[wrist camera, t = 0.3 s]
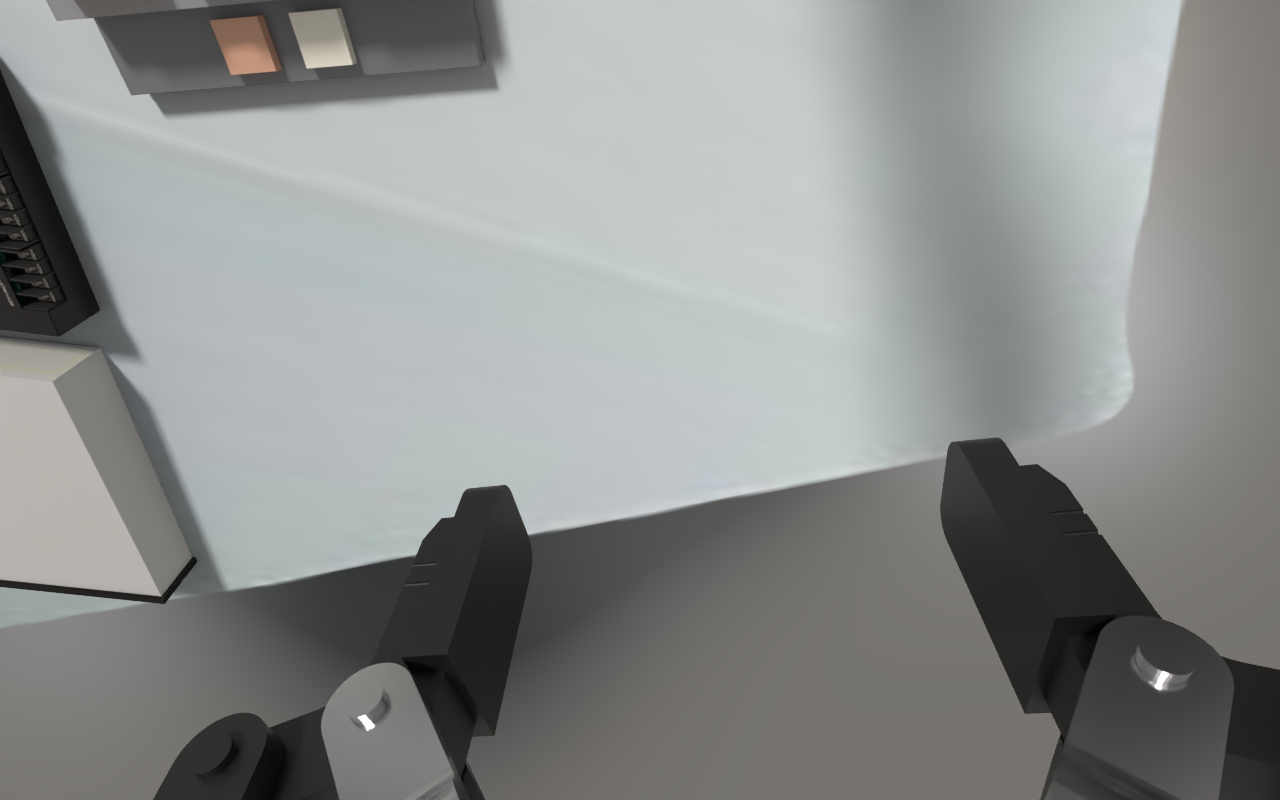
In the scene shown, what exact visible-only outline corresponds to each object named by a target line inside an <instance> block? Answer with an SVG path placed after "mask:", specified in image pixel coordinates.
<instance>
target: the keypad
mask: <svg viewBox="0 0 1280 800" xmlns="http://www.w3.org/2000/svg"><path fill="white" fill-rule="evenodd" d="M46 1H47V3H48V5H49V7H50V9H51V11H52V13H53V15H54V17H55V18H56V20H57V21H62V20H73V19H84V18H94V20H95V22H96V24H97V26H98V28H99V30H100V32H101V34H102V36H103V38H104V40H105V42H106V44H107V46H108V48H109V50H110V52H111V54H112V57H113V59H114V61H115V63H116V65H117V67H118V69H119V71H120V73H121V75H122V77H123V79H124V81H125V83H126V85H127V87H128V89H129V91H130V93H131V95H140V94H152V93H164V92H176V91H188V90H200V89H212V88H224V87H235V86H247V85H259V84H271V83H283V82H295V81H307V80H319V79H331V78H343V77H355V76H367V75H378V74H390V73H402V72H414V71H426V70H438V69H450V68H462V67H474V66H481V65H482V64H484V63H485V57H484V52H483V47H482V42H481V37H480V32H479V26H478V21H477V16H476V11H475V6H474V1H473V0H46Z"/></svg>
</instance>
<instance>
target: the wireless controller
mask: <svg viewBox="0 0 1280 800" xmlns="http://www.w3.org/2000/svg"><path fill="white" fill-rule="evenodd" d="M98 311H100V309H99V306H98V304H97V301H96V299H95V297H94V294H93V292H92V289H91V287H90V285H89V282H88V280H87V277H86V275H85V273H84V270H83V268H82V265H81V263H80V261H79V258H78V256H77V253H76V251H75V249H74V246H73V244H72V241H71V239H70V237H69V234H68V232H67V229H66V227H65V225H64V222H63V220H62V217H61V215H60V213H59V210H58V208H57V205H56V203H55V201H54V198H53V196H52V193H51V191H50V189H49V186H48V184H47V181H46V179H45V177H44V174H43V172H42V169H41V167H40V165H39V162H38V160H37V157H36V155H35V153H34V150H33V148H32V145H31V143H30V141H29V138H28V136H27V133H26V131H25V129H24V126H23V124H22V121H21V119H20V117H19V114H18V112H17V109H16V107H15V105H14V102H13V100H12V97H11V95H10V93H9V90H8V88H7V85H6V83H5V81H4V78H3V76H2V73H1V71H0V329H1V330H9V331H18V332H26V333H35V334H43V335H52V336H61V335H63V334H64V333H66V332H67V331H69V330H70V329H72V328H73V327H75V326H76V325H78V324H80V323H81V322H83V321H84V320H86V319H87V318H89V317H90V316H92V315H94V314H95V313H97V312H98Z"/></svg>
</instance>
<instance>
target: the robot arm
mask: <svg viewBox="0 0 1280 800" xmlns="http://www.w3.org/2000/svg"><path fill="white" fill-rule="evenodd" d="M940 508H941V509H940V511H941V521H942V526H943V530H944V534H945V537H946V539H947V542H948V544H949V546H950V548H951V551H952V553H953V555H954V557H955V559H956V562H957V564H958V566H959V568H960V571H961V573H962V575H963V577H964V579H965V582H966V584H967V586H968V588H969V591H970V593H971V595H972V597H973V599H974V602H975V604H976V606H977V608H978V611H979V613H980V615H981V617H982V619H983V622H984V624H985V626H986V628H987V631H988V633H989V635H990V637H991V639H992V642H993V644H994V646H995V648H996V650H997V653H998V655H999V657H1000V659H1001V661H1002V664H1003V666H1004V668H1005V670H1006V672H1007V675H1008V677H1009V679H1010V682H1011V684H1012V686H1013V688H1014V690H1015V693H1016V695H1017V697H1018V699H1019V701H1020V704H1021V706H1022V708H1023V710H1024V713H1025V714H1029V713H1052V715H1053V717H1054V719H1055V722H1056V724H1057V726H1058V728H1059V730H1060V732H1061V734H1060V737H1059V739H1058V742H1057V745H1056V748H1055V751H1054V755H1053V758H1052V761H1051V764H1050V767H1049V770H1048V773H1047V776H1046V780H1045V783H1044V786H1043V789H1042V792H1041V796H1040V799H1039V800H1280V670H1278V669H1272V668H1268V667H1263V666H1257V665H1252V664H1248V663H1243V662H1239V661H1235V660H1231V659H1228V658H1225V657H1222V656H1220V655H1219V654H1218V652H1217V651H1216V650H1215V649H1214V648H1213V647H1212V646H1211V645H1209V644H1208V643H1207V642H1206V641H1205V640H1203V639H1202V638H1200V637H1199V636H1197V635H1196V634H1194V633H1193V632H1191V631H1189V630H1187V629H1185V628H1184V627H1181V626H1179V625H1177V624H1174V623H1172V622H1169V621H1166V620H1163V619H1162V618H1161V617H1160V615H1159V614H1158V613H1157V612H1156V611H1155V609H1154V608H1153V606H1152V605H1151V603H1150V602H1149V601H1148V599H1147V598H1146V597H1145V595H1144V594H1143V592H1142V591H1141V589H1140V588H1139V587H1138V585H1137V584H1136V583H1135V581H1134V580H1133V578H1132V577H1131V575H1130V574H1129V573H1128V571H1127V570H1126V569H1125V567H1124V566H1123V564H1122V563H1121V561H1120V560H1119V559H1118V557H1117V556H1116V554H1115V553H1114V552H1113V550H1112V549H1111V547H1110V546H1109V545H1108V543H1107V542H1106V540H1105V539H1104V538H1103V536H1102V535H1099V534H1098V529H1097V528H1096V526H1095V525H1094V524H1093V522H1092V521H1091V519H1090V518H1089V516H1088V515H1087V514H1084V513H1083V508H1082V507H1081V505H1080V504H1079V502H1078V501H1077V500H1076V498H1075V497H1074V496H1073V494H1072V493H1071V491H1070V490H1069V489H1068V487H1067V486H1066V484H1064V483H1063V482H1061V481H1060V480H1058V479H1057V478H1056V477H1054V476H1053V475H1052V474H1050V473H1049V472H1047V471H1046V470H1045V469H1043V468H1042V467H1040V466H1039V465H1038V464H1035V465H1024V466H1019V465H1018V463H1017V461H1016V460H1015V458H1014V457H1013V455H1012V454H1011V452H1010V451H1009V449H1008V447H1007V446H1006V444H1005V443H1004V442H1003V441H1002V440H1001V439H1000V438H987V439H977V440H967V441H957V442H952V443H950V445H949V448H948V452H947V459H946V467H945V475H944V482H943V489H942V497H941V506H940ZM413 566H414V567H413V568H411V570H410V572H409V575H408V577H407V579H406V582H405V588H403V589H402V591H401V594H400V596H399V599H398V601H397V604H396V606H395V608H394V611H393V613H392V615H391V618H390V620H389V623H388V625H387V627H386V630H385V633H384V635H383V637H382V640H381V642H380V644H379V647H378V649H377V652H376V654H375V656H374V659H373V661H372V663H371V665H370V666H369V667H366V668H364V669H362V670H360V671H359V672H357V673H355V674H354V675H352V676H351V677H350V678H348V679H347V680H346V681H345V682H344V683H343V684H342V685H341V686H340V687H339V688H338V689H337V690H336V691H335V693H334V694H333V695H332V697H331V698H330V700H329V702H328V704H327V705H326V706H325V707H323V708H321V709H318V710H316V711H313V712H311V713H308V714H305V715H303V716H300V717H297V718H294V719H292V720H289V721H286V722H284V723H281V724H278V725H276V726H273V727H270V728H269V727H268V726H267V724H266V723H265V722H264V721H263V720H262V719H261V718H259V716H256V715H254V714H250V713H238V714H233V715H230V716H227V717H224V718H222V719H220V720H218V721H216V722H214V723H213V724H211V725H210V726H208V727H206V728H205V729H204V730H202V731H201V732H200V733H199V734H197V735H196V736H195V737H194V738H193V739H192V740H191V741H190V742H189V743H188V744H187V745H186V746H185V748H184V749H183V750H182V751H181V753H180V754H179V755H178V757H177V758H176V760H175V761H174V763H173V765H172V766H171V768H170V770H169V772H168V774H167V776H166V777H165V779H164V781H163V783H162V785H161V786H160V788H159V790H158V792H157V794H156V795H155V797H154V799H153V800H485V798H484V795H483V793H482V791H481V789H480V787H479V785H478V782H477V780H476V778H475V776H474V774H473V772H472V769H471V767H470V765H469V763H468V762H467V760H466V758H467V754H468V750H469V746H470V742H471V738H472V737H474V736H494V735H495V730H496V725H497V721H498V717H499V712H500V708H501V703H502V699H503V694H504V690H505V686H506V681H507V677H508V672H509V668H510V663H511V659H512V654H513V650H514V646H515V641H516V636H517V632H518V628H519V623H520V619H521V614H522V610H523V605H524V601H525V596H526V592H527V588H528V583H529V579H530V574H531V568H532V550H531V543H530V540H529V537H528V534H527V531H526V529H525V526H524V524H523V521H522V519H521V516H520V513H519V511H518V508H517V506H516V503H515V501H514V498H513V495H512V493H511V491H510V489H509V488H508V486H506V485H500V486H490V487H480V488H469V489H467V490H465V492H464V493H463V495H462V497H461V500H460V503H459V505H458V508H457V511H456V513H455V516H454V517H451V518H442V519H441V520H440V521H439V522H438V523H437V524H436V525H435V527H434V528H433V529H432V530H431V531H430V532H429V533H428V535H427V536H426V537H425V538H424V539H423V541H422V543H421V546H420V548H419V550H418V553H417V555H416V558H415V560H414V563H413Z"/></svg>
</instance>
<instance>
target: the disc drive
mask: <svg viewBox="0 0 1280 800" xmlns="http://www.w3.org/2000/svg"><path fill="white" fill-rule="evenodd" d="M196 563H197V560H196V558H195V557H192V554H191V552H190V550H189V547H188V545H187V543H186V541H185V538H184V536H183V534H182V531H181V529H180V527H179V525H178V522H177V520H176V518H175V516H174V513H173V511H172V509H171V506H170V504H169V502H168V500H167V497H166V495H165V493H164V490H163V488H162V486H161V484H160V481H159V479H158V477H157V475H156V472H155V470H154V468H153V465H152V463H151V461H150V459H149V456H148V454H147V452H146V449H145V447H144V445H143V443H142V440H141V438H140V436H139V434H138V431H137V429H136V427H135V424H134V422H133V420H132V418H131V415H130V413H129V411H128V408H127V406H126V404H125V402H124V399H123V397H122V395H121V393H120V390H119V388H118V386H117V383H116V381H115V379H114V377H113V374H112V372H111V370H110V367H109V365H108V363H107V361H106V358H105V356H104V354H103V352H102V349H101V348H100V347H91V346H82V345H73V344H64V343H55V342H46V341H37V340H28V339H19V338H10V337H2V336H0V587H7V588H17V589H26V590H36V591H45V592H55V593H65V594H74V595H84V596H93V597H103V598H113V599H122V600H132V601H141V602H151V603H161V604H165V603H166V601H167V600H168V599H169V598H170V596H171V595H172V594H173V592H174V591H175V590H176V589H177V587H178V586H179V585H180V583H181V582H182V581H183V579H184V578H185V577H186V576H187V574H188V573H189V572H190V570H191V569H192V568H193V566H194V565H195V564H196Z"/></svg>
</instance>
